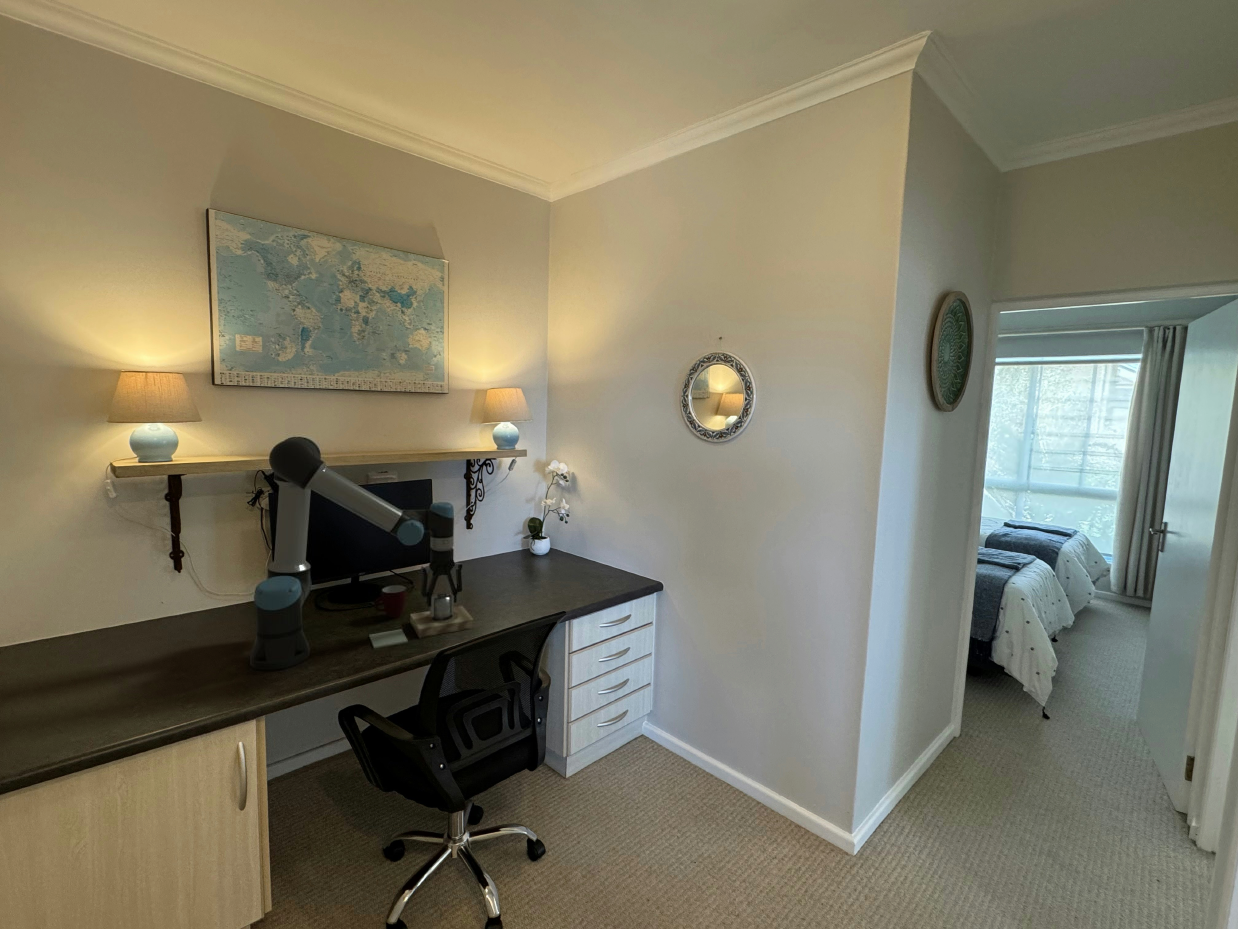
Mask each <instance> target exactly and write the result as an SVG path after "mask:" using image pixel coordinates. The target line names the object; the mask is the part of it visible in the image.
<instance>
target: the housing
mask: <svg viewBox="0 0 1238 929" xmlns="http://www.w3.org/2000/svg"><path fill="white" fill-rule="evenodd" d="M409 617H410V619H409V620H410V625H411V626H412V628H413V630H414V632H415V633H416V635H417V636H418V638H419V639H420V638H426V637H432V636H436V635H442V634H447V633H453V632H454V633H455V632H458V631H459V632H460V631H463V630H465V631H466V630H469V629H474V628H475V627H474V626H475V625H474V623H475V622H474V618H473V617H472V616H471V614H469V612H468V611H467V610H466V608H465V607H463V605H459V606H454V613H452V614H451V619H449V620H445V621H435V620H433V617H431V615H430V610H429V611H423V612H422V611H421V612H416V613H415V612H414V613H410V615H409Z"/></svg>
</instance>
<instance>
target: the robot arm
mask: <svg viewBox="0 0 1238 929" xmlns="http://www.w3.org/2000/svg"><path fill="white" fill-rule="evenodd" d="M321 458H322V453H321V450H320V447H319V445H318V444H317V443H316V442H314V441H313V440H312V439H310V438H308V437H304V436H292V437H288V438H286V439H284V440H283V441H280V442H278V443H277V444H275V445H274V446H273V448H272V449H271V450H270V453H269V456H268V462H269V466H270V468H271V470H272V471H273V472H274V474H273V481H274V482H275V483H276V484H277V485H278V500H277V514H276V527H275V528H276V530H275V545H274V555H273V556H274V560H273V561H272V562H271V563H269V564H268V566H267V577H266V580H262V581H260V582H259V583H258V584H256V587H255V588H254V595H253V600H254V610H255V611H254V615H255V632H256V634H255V636H256V638H255V641H254V643H253V647H252V650H251V653H250V655H249V656H250V657H249V661H250V662H249V663H250V666H251V667H252V668H253V669H255V670H259V671H277V670H284V669H287V668H290V667H294V666H296V665H299V664H301V663H303V662H304V661H306V660H307V659H308V658H309V657H310V655H311V654H310V651H311V650H310V645H309V642H308V640H307V638H306V635H305V634H304V631H303V612H302V609H303V608H302V607H303V605H304V603H305V601H306V599H307V597H308V596H309V594H310V592H311V589H312V579H311V564H310V563H309V562H308V561H307V559H306V558H307V546H308V531H309V520H310V519H309V518H310V517H309V516H310V504H311V491H313V492H315V493H317V494H319V495H321V496H322V497H324V498H325V499H328V500H330V501H331V502H333V503H335V504H337V505H338V506H341V507H342V508H344V509H346V510H348V511H349V512H352V513H353V514H354V515H355V514H356V515H357V516H359V517H360V518H362V519H364V520H366V521H368V522H369V523H371V524H373V525H375V526H377V527H378V528H380V529H382V530H383V531H386V532H388V533H389V534H391V535H393V536H395V537H396V538H397V540H399V542H401V543H402V544H403V545H404V546H413V545H417V544H418V543H419V542H421V541H422V539H423V536H424V534H425V533H428V532H429V533H430V543H429V544H430V545H429V546H430V550H429V551H430V552H429V553H430V556H429V557H430V559H429V560H430V562H429V563H428V565H427V566H421V567H420V571H421V574H422V575H421V586H420V588H421V589H420V591H421V592H420V595H421V596H422V597H423V598H426V605H427V607H428V608H429V611H430V615H431V617H433V616H434V597H433V596H434V595H433V593H434V591H435V587H436V585H437V581H438V579H439V577H440V576H446V578H447V582H448V584H449V587H450V590H451V592H449V594H450V595H451V614H452V613H454V607H455V606H454V605H455V604H456V603H457V601H458V600H457V598H458V597H457V596H458V593H462V592H463V581H462V580H463V579H462V570H463V564H462V563H461V562H455V560H454V556H455V555H454V551H455V550H454V548H453V547H454V542H455V541H454V530H455V529H454V528H455V526H454V525H455V513H454V512H455V511H454V510H455V509H454V505H453V504H452V503H451V502H447V501H438V502H433V503H431V504H430V507H429V508H427V509H400V508H398V507H396V506H395V505H392V504H391V503H390V502H388V501H385V499H383V498H380V497H379V496H377V495H375V494H374V493H372V492H370V491H369V490H367V489H365V488H363V487H362V486H359V485H358V484H356V483H354V482H352V481H351V480H349V479H347V478H346V477H344V476H343V475H341V474H339V473H337V472H335V471H333V470H332V469H331V468H329V467H327V464H326V462H325V461H324V460H321ZM453 568H454V569H455V581H456V585H455V582H454V579H453V576H452V572H451V571H452V570H453ZM430 570H431V571H432V574H431V575H432V576H431V578H430V581H429V585H428V576H429V575H428V573H429V572H430Z"/></svg>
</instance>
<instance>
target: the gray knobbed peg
mask: <svg viewBox="0 0 1238 929" xmlns="http://www.w3.org/2000/svg"><path fill="white" fill-rule="evenodd" d="M432 596H433V597H434V616H433V620H435V621H445V620H449V619H451V595H450V593H447V592H446V591H445V592H444V591H440V592H438V593H436V594H434V595H432Z"/></svg>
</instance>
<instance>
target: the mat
mask: <svg viewBox="0 0 1238 929" xmlns="http://www.w3.org/2000/svg"><path fill="white" fill-rule="evenodd" d="M368 636H369V639H370V643H371V644H372V647H373V649H374V650H376V649H380V648H386V647H391V646H396V645H401V644H407V643H409V642H408V639H407V637H406V635H405V633H404V631H403V629H395V630H389V631H384V632H379V633H373V634H369V635H368Z"/></svg>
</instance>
